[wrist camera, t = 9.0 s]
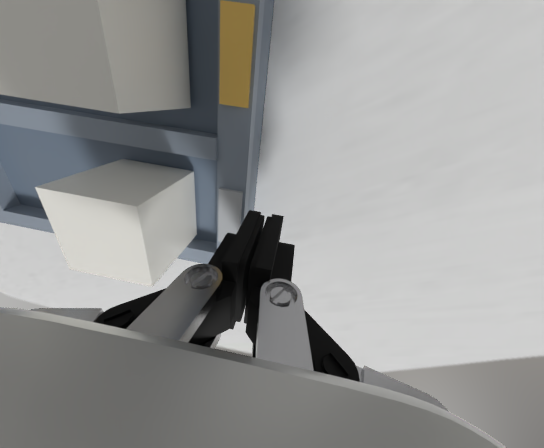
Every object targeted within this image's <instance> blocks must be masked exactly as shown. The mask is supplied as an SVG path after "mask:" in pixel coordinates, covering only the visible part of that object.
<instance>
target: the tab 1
mask: <svg viewBox="0 0 544 448" xmlns="http://www.w3.org/2000/svg"><path fill="white" fill-rule="evenodd" d="M0 94H1V95H7V96H13V97H19V98H25V99H32V100H38V101H44V102H50V103H56V104H63V105H69V106H75V107H81V108H87V109H94V110H100V111H106V112H112V113H118V114H121V113H134V112H146V111H159V110H172V109H184V108H191V100H190V79H189V59H188V38H187V17H186V0H0Z"/></svg>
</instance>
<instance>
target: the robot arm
mask: <svg viewBox="0 0 544 448" xmlns="http://www.w3.org/2000/svg"><path fill="white" fill-rule="evenodd" d="M282 222H283V216H279V215H274V214H272V217H267V219H266V222H265V225H264V228H263V224H264V216H263V215H261V212H257V211H252V210H249V211H248V213H247V215H246V217H245V219H244V221H243V222H242V224H241V226H240V228H239V230H238V232H237V233H236V234H233V233H227V234H226V235H225V237H224V239H223V240H222V242H221V243H220V245H219V247H218V248H217V250H216V252H215V253H214V255H213V256H212V258H211V260H210V261H209V263H208V264H198V265H193V266H191V267H189V268H187V269H186V270H185V271H183V272H182V273H181V274H180V275H179V276H178V277H177V278H176V279H175V280H174V281H173V282H172V283H171V284H170V285H169V286H168V287H167V288H166V289H163V290H160V291H157V292H155V293H152V294H149V295H146V296H143V297H140V298H137V299H135V300H132V301H129V302H126V303H123V304H120V305H117V306H115V307H113V308H110V309H108V310H107V311H105V312H103V311H102V309H101V308H39V309H31V310H24V309H17V308H2V307H0V448H507V447H505V446H504V445H503V444H501V443H500V442H498V441H497V440H496V439H494V438H493V437H491V436H490V435H488V434H487V433H485V432H484V431H482V430H480V429H479V428H477V427H475V426H474V425H472V424H470V423H469V422H467V421H465V420H463V419H462V418H460V417H458V416H456V415H454V414H452V413H450V412H449V411H448V410H447V409H446V408H445V407H444V406H443V405H442V404H441V403H440V402H439V401H438V400H437V399H435V398H434V397H432V396H430V395H429V394H427V393H425V392H422V391H420V390H418V389H416V388H413V387H411V386H409V385H407V384H404V383H402V382H400V381H398V380H395V379H393V378H391V377H389V376H386V375H384V374H382V373H380V372H378V371H375V370H373V369H371V368H369V367H366V366H364V367H363V369H362V368H360V367H358V366H356V365H355V363H354V362H353V361H352V359H351V358H350V357H349V356H348V355H347V354H346V353H345V352H344V350H343V349H342V348H341V347H340V346H339V345H338V344H337V343H336V342H335V341H334V340H333V339H332V338H331V337H330V336H329V335H328V334H327V333H326V332H325V331H324V330H323V329H322V328H321V327H320V326H319V325H318V324H317V322H316V321H315V320H314V319H313V318H312V317H311V316H310V315H309V314H308V313H307V312H306V311H305V310H304V305H303V299H302V294H301V291H300V289H299V288H298V287H297V286H296V285H295V284H294V283H292V282H291V277H292V267H293V257H294V246H295V245H292V244H286V243H281V242H279V240H280V234H281V228H282ZM245 306H246V308H245ZM244 309H245V317H244V323H247V325H246V334H247V335H248V337H249V338H250V340H251V341H252V343H253V346H252V357H250V356H245V355H240V354H236V353H232V352H227V351H223V350H218V349H215V347H216V345H217V343H218V341H219V339H220V336H221V333H222V332H224V331H226V330H228V329H233V328H234V325H235V322H236V321H237V322H240V321H241V319H242V315H243V312H244Z"/></svg>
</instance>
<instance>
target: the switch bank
mask: <svg viewBox="0 0 544 448" xmlns="http://www.w3.org/2000/svg"><path fill="white" fill-rule="evenodd" d="M273 8H274V0H186V17H187V38H188V59H189V79H190V100H191V108H184V109H172V110H159V111H146V112H134V113H121V114H118V113H112V112H106V111H100V110H94V109H87V108H81V107H75V106H69V105H63V104H56V103H50V102H44V101H38V100H32V99H25V98H19V97H13V96H7V95H1V94H0V222H2V223H7V224H12V225H16V226H21V227H26V228H31V229H36V230H41V231H46V232H51V233H54V231H53V229H52V226H51V224H50V222H49V219H48V217H47V214H46V212H45V210H44V207H43V205H42V203H41V200H40V198H39V196H38V193H37V191H36V189H35V187H37V186H40V185H43V184H46V183H49V182H52V181H55V180H59V179H62V178H65V177H68V176H71V175H74V174H77V173H80V172H83V171H87V170H90V169H93V168H96V167H99V166H102V165H105V164H108V163H111V162H115V161H118V160H121V159H127V160H133V161H138V162H144V163H150V164H156V165H161V166H167V167H173V168H178V169H184V170H190V171H194V184H195V205H196V226H197V235H196V236H195V237H194V238H193V240H192V241H191V242H190V243H189V244H188V246H187V247H186V248H185V249H184V250H183V252H182V253H181V254H180V255H179V256H178V259H183V260H188V261H193V262H198V263H203V264H208V263H209V261H210V260H211V258H212V256H213V255H214V253H215V252H216V250H217V248H218V247H219V245H220V243H221V242H222V240H223V239H224V237H225V235H226V234H227V233H233V234H236V233H237V232H238V230H239V228H240V226H241V224H242V222H243V221H244V219H245V217H246V215H247V213H248V211H249V210H252V211H254V204H255V193H256V183H257V173H258V162H259V152H260V142H261V132H262V121H263V111H264V101H265V90H266V80H267V70H268V60H269V49H270V39H271V29H272V18H273Z"/></svg>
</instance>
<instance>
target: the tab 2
mask: <svg viewBox="0 0 544 448" xmlns="http://www.w3.org/2000/svg"><path fill="white" fill-rule="evenodd" d="M35 189H36V191H37V193H38V196H39V198H40V200H41V203H42V205H43V207H44V210H45V212H46V214H47V217H48V219H49V222H50V224H51V226H52V229H53V231H54V233H55V236H56V238H57V240H58V243H59V245H60V247H61V250H62V252H63V255H64V257H65V259H66V262H67V264H68V266H69V269H70V270H75V271H80V272H84V273H89V274H94V275H98V276H103V277H108V278H112V279H117V280H122V281H126V282H131V283H136V284H140V285H145V286H150V287H153V286H154V285H155V284H156V283H157V281H158V280H159V279H160V278H161V277H162V275H163V274H164V273H165V272H166V271H167V269H168V268H169V267H170V266H171V265H172V263H173V262H174V261H175V260H176V259H177V258H178V256H179V255H180V254H181V253H182V252H183V250H184V249H185V248H186V247H187V246H188V244H189V243H190V242H191V241H192V240H193V238H194V237H195V236H196V235H197V226H196V205H195V184H194V171H190V170H184V169H178V168H173V167H167V166H161V165H156V164H150V163H144V162H138V161H133V160H127V159H121V160H118V161H115V162H111V163H108V164H105V165H102V166H99V167H96V168H93V169H90V170H87V171H83V172H80V173H77V174H74V175H71V176H68V177H65V178H62V179H59V180H55V181H52V182H49V183H46V184H43V185H40V186H37V187H35Z"/></svg>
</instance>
